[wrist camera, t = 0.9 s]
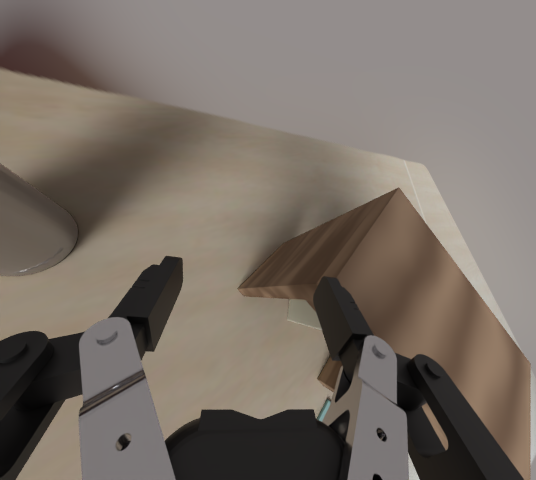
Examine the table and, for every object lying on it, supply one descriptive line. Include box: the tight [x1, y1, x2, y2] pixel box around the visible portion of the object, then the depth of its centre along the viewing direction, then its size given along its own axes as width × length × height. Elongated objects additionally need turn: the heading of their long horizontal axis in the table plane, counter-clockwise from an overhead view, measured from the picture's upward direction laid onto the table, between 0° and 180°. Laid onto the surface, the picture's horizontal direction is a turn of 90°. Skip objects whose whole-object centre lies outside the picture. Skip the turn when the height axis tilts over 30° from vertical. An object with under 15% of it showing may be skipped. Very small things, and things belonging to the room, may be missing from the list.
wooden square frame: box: [238, 188, 530, 480], centre depth 24 cm, size 22×12×22 cm, turn 45°
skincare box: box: [287, 299, 322, 330], centre depth 29 cm, size 6×4×12 cm
